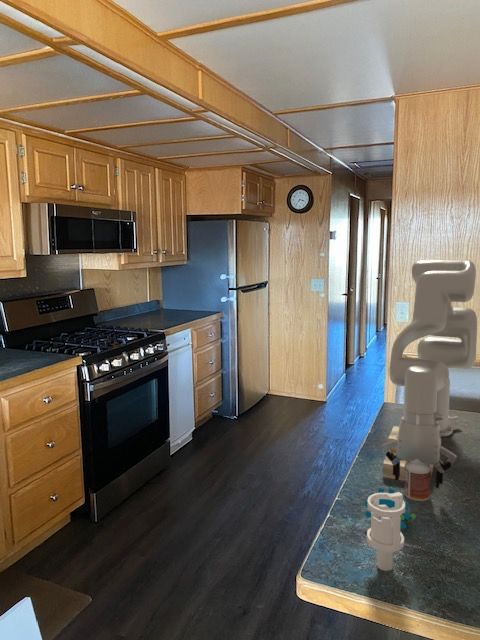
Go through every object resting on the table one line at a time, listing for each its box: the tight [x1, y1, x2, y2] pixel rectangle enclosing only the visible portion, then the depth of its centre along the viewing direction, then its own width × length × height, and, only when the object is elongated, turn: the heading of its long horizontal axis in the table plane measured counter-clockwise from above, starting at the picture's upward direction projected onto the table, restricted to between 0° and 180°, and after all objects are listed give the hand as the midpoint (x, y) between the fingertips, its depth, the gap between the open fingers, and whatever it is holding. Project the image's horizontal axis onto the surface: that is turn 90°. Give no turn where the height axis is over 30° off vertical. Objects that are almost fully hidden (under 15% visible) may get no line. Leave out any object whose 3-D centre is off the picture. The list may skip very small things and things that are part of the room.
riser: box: [382, 425, 435, 482], centre depth 138 cm, size 18×12×8 cm, turn 154°
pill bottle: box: [403, 459, 432, 502], centre depth 123 cm, size 6×6×11 cm
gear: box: [364, 487, 417, 530], centre depth 112 cm, size 11×6×10 cm
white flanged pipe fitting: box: [366, 491, 406, 572], centre depth 97 cm, size 7×7×15 cm
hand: (417, 481), depth 123 cm, fingers open, 9 cm apart
